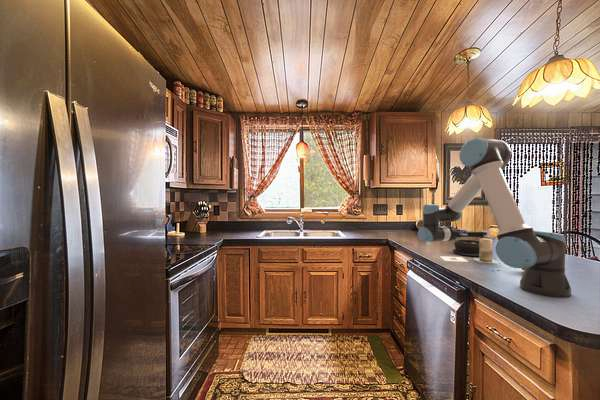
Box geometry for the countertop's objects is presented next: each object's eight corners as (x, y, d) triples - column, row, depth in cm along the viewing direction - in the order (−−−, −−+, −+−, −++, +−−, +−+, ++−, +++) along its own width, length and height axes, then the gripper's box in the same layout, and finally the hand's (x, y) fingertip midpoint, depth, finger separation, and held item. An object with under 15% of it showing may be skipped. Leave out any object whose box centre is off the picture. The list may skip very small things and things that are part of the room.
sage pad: (500, 265, 149) (500, 263, 149) (479, 264, 151) (479, 262, 151) (492, 260, 159) (492, 259, 159) (472, 260, 161) (472, 258, 161)
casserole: (489, 260, 161) (489, 245, 160) (452, 257, 169) (452, 243, 169) (484, 252, 183) (484, 239, 182) (451, 250, 191) (451, 237, 191)
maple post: (494, 262, 151) (494, 240, 151) (481, 261, 153) (481, 239, 153) (489, 259, 157) (489, 238, 157) (477, 259, 159) (477, 238, 159)
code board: (468, 263, 153) (468, 261, 153) (444, 262, 156) (444, 260, 156) (461, 258, 164) (461, 257, 164) (439, 257, 167) (439, 256, 167)
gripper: (429, 237, 159) (459, 236, 165) (466, 244, 135) (500, 241, 141) (429, 224, 159) (459, 223, 165) (466, 228, 135) (499, 226, 141)
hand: (478, 231), depth 153 cm, fingers open, 13 cm apart
